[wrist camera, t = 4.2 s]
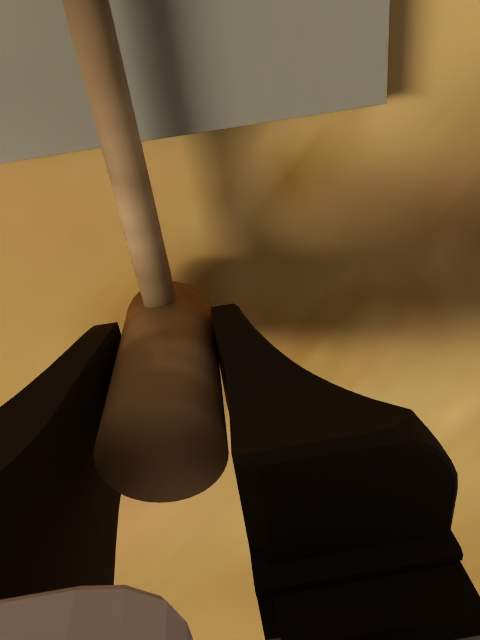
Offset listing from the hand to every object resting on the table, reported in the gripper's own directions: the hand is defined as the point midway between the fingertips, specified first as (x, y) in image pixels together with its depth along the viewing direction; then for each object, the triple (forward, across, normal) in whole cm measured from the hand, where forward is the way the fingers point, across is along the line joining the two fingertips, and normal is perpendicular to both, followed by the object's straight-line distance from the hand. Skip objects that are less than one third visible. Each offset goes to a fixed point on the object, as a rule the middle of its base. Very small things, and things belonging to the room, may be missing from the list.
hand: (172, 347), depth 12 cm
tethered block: (+1, 0, -6) cm, 6 cm away
